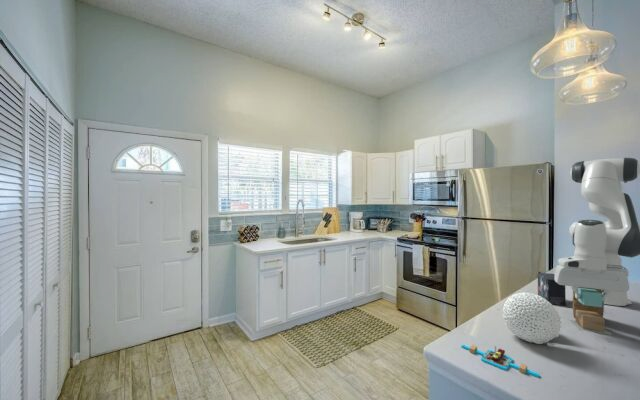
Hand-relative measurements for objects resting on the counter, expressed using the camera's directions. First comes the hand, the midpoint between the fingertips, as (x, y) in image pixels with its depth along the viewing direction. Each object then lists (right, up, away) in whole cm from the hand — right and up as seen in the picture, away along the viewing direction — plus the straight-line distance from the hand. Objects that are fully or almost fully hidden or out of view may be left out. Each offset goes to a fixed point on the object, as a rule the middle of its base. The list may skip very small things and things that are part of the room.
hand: (589, 299), depth 101 cm
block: (+7, -12, +8) cm, 16 cm away
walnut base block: (0, -10, 0) cm, 10 cm away
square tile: (0, -12, 0) cm, 12 cm away
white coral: (-28, -12, -5) cm, 30 cm away
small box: (+12, -12, +31) cm, 35 cm away
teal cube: (0, -2, 0) cm, 2 cm away
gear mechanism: (-48, -12, -19) cm, 53 cm away
